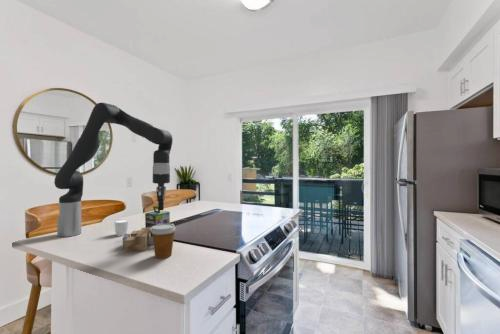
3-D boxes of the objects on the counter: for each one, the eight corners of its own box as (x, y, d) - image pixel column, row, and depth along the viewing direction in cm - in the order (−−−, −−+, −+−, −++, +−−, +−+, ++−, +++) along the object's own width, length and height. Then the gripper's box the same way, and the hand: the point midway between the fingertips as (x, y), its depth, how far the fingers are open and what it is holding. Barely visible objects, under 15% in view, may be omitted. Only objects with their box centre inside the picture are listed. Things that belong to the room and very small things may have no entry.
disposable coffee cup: (161, 262, 90) (161, 230, 90) (145, 256, 95) (145, 227, 95) (180, 254, 98) (180, 225, 98) (165, 249, 103) (165, 222, 103)
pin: (122, 249, 104) (122, 237, 104) (125, 244, 109) (125, 234, 109) (154, 246, 108) (154, 235, 108) (155, 242, 113) (155, 231, 113)
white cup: (123, 236, 121) (123, 223, 121) (111, 235, 122) (111, 222, 122) (132, 232, 128) (132, 220, 128) (121, 232, 129) (121, 219, 129)
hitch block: (124, 252, 100) (124, 237, 100) (132, 241, 114) (132, 228, 114) (145, 250, 102) (145, 236, 102) (150, 239, 116) (150, 227, 116)
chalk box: (170, 233, 128) (170, 205, 128) (155, 237, 120) (155, 208, 120) (159, 230, 133) (159, 204, 133) (144, 234, 125) (144, 206, 125)
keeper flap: (148, 233, 107) (147, 230, 107) (150, 230, 111) (149, 227, 111) (173, 228, 109) (172, 225, 109) (173, 225, 114) (173, 222, 114)
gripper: (154, 172, 115) (154, 207, 116) (150, 173, 103) (150, 213, 103) (170, 172, 117) (170, 207, 117) (168, 173, 104) (168, 212, 105)
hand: (161, 210), depth 110 cm, fingers closed
